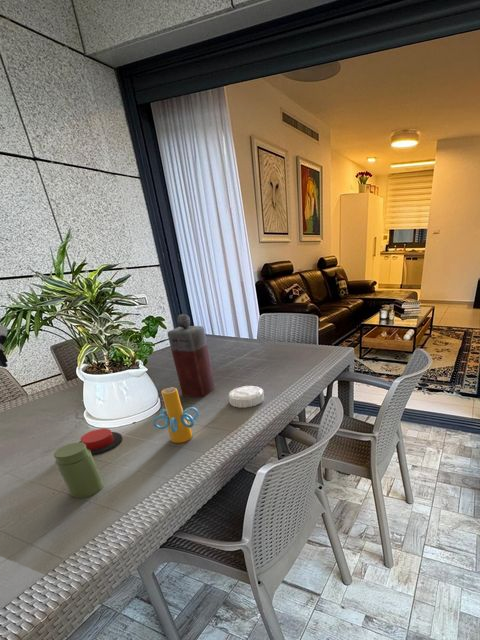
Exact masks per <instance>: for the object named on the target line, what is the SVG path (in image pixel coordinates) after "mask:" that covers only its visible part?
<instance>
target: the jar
mask: <svg viewBox="0 0 480 640" xmlns="http://www.w3.org/2000/svg"><path fill="white" fill-rule="evenodd" d="M53 457H54V459H55V462H54V463H55V465H56V467H57V469H58V472H59V473H60V475H61V477H62V479H63V481H64V483H65V486H66V487H67V488H66V489H68V492H69V493H70V497H72V498H74V499H84V498H85V499H86V498H88V497H91V496H93V495H96V494H97V493H98V492H100V491H102V489H103V487H104V485H105V482H104V479H103V478H102V475H101V472H100V470H99V467H98V466H97V463H96V461H95V459H94V455H92V454H91V451H90V450H88V449H87V447H86V445H85V444H84V443H79V442H72V443H71V442H70V443H68V444H65V445H63V446H60V447H58V448H57V449H56V450H55V451H54V452H53Z"/></svg>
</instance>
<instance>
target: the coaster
mask: <svg viewBox="0 0 480 640" xmlns="http://www.w3.org/2000/svg"><path fill="white" fill-rule="evenodd" d="M111 432H112V434H113V437H114V440H113V441H112V442H111V443H110V444H109V445H107V446H104V447H102V448H98V449H91V450H90V449H88V450H90V451H91V454H92V456H97V455H99V454H103V453H106V452H109V451H111V450H113V449H116V447H118V446H119V445H120V444H121V443H122V442H123V435H122V434H121V433H119V432H117V431H111ZM78 443H82V442H81V440H80V441H79V442H78Z"/></svg>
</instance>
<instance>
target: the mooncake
mask: <svg viewBox="0 0 480 640" xmlns="http://www.w3.org/2000/svg"><path fill="white" fill-rule="evenodd" d="M264 394H265V393H264V389H262V387H259V386H254V385H243V386H239V387H236V388H234V389H232V390H230V391H229V393H228V397H227V398H228V401H229V404H230V405H231V407H235V408H239V409H242V408H243V409H246V408H252V407H257V406H258V405H260V404H261V403H263V402H264V400H265V395H264Z"/></svg>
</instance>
